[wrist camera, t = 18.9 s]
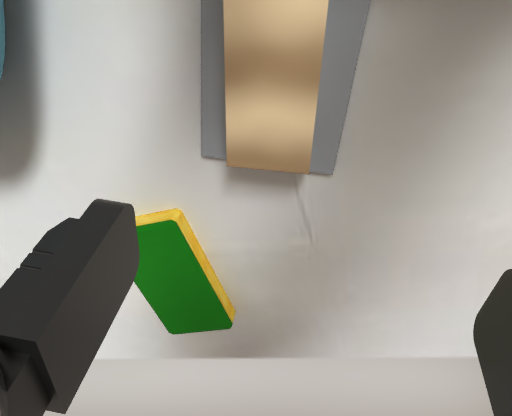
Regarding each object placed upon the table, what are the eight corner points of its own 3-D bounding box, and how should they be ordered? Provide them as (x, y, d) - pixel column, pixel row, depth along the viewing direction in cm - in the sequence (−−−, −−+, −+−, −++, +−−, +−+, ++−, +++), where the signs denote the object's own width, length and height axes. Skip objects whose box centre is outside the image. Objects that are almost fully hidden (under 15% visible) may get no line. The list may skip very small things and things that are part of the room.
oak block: (235, -90, 23) (221, -86, 21) (337, -86, 23) (338, -82, 20) (236, 141, 32) (226, 165, 29) (311, 148, 31) (308, 174, 29)
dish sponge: (181, 204, 38) (172, 222, 36) (237, 310, 45) (232, 329, 43) (113, 218, 40) (101, 235, 38) (176, 317, 47) (170, 335, 45)
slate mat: (203, -124, 23) (201, -124, 23) (392, -106, 22) (393, -106, 22) (203, 152, 34) (201, 155, 33) (332, 171, 33) (332, 175, 32)
